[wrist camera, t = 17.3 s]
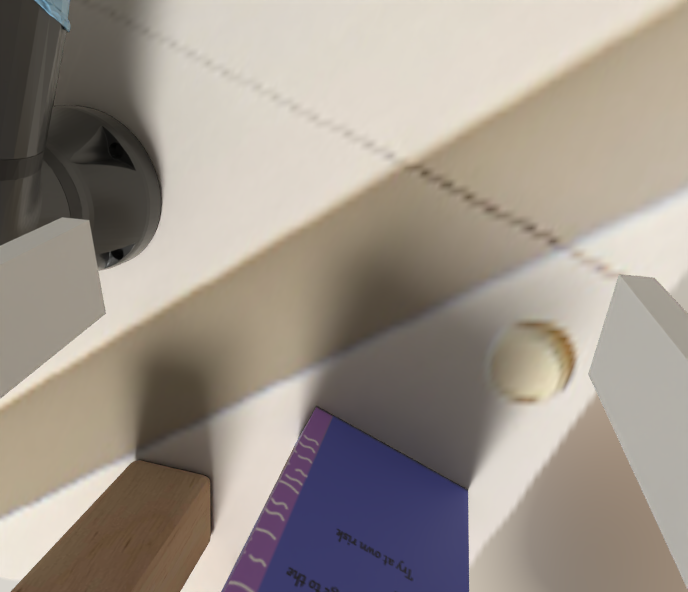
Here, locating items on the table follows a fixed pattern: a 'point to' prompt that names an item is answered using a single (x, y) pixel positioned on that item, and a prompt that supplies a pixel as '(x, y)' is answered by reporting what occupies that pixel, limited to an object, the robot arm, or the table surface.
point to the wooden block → (131, 536)
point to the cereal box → (355, 521)
